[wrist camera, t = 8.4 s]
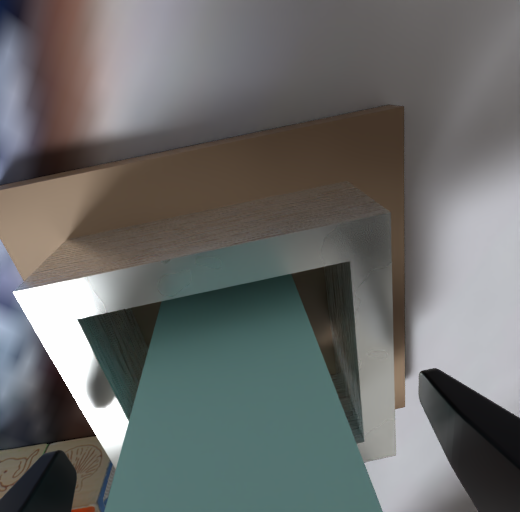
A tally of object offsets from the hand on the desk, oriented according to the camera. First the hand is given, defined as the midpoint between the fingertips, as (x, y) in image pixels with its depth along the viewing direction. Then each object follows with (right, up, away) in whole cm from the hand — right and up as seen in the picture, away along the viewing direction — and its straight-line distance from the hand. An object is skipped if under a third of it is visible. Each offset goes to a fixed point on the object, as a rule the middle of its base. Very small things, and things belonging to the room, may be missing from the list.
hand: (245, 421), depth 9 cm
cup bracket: (0, +2, +5) cm, 5 cm away
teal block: (0, +2, +4) cm, 4 cm away
